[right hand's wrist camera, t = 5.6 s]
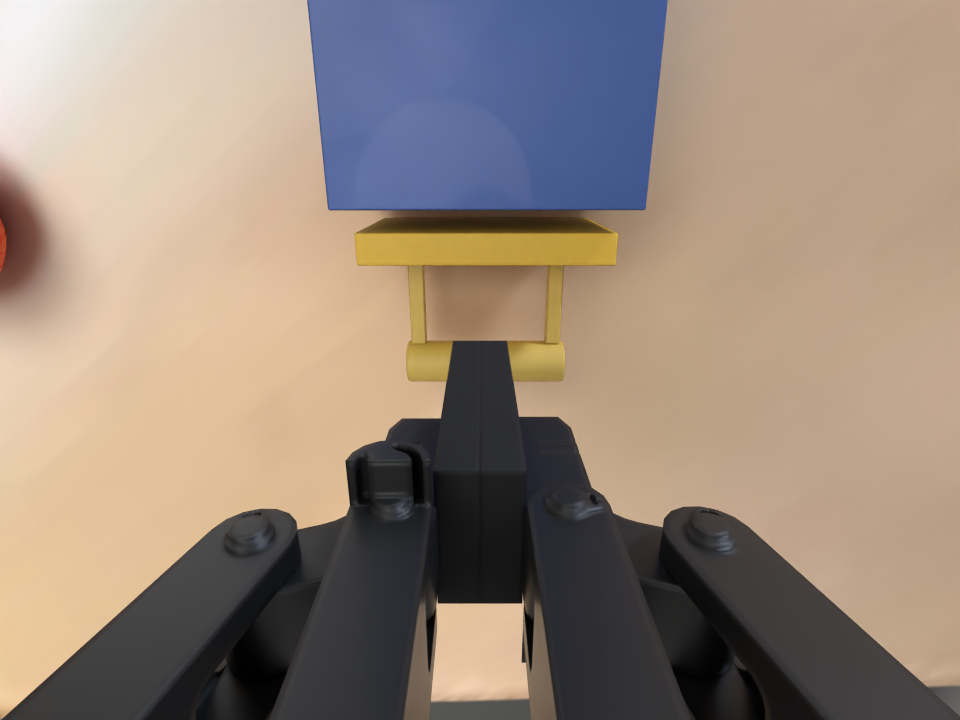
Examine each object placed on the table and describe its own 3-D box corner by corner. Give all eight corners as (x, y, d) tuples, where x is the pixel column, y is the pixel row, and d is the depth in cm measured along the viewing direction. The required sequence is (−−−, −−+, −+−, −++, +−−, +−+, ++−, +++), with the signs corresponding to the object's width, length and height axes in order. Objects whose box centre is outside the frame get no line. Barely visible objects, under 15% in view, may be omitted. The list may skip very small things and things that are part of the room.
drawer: (577, 350, 27) (603, 399, 21) (392, 350, 27) (368, 398, 21) (624, -321, 18) (688, -543, 13) (349, -319, 18) (289, -540, 13)
